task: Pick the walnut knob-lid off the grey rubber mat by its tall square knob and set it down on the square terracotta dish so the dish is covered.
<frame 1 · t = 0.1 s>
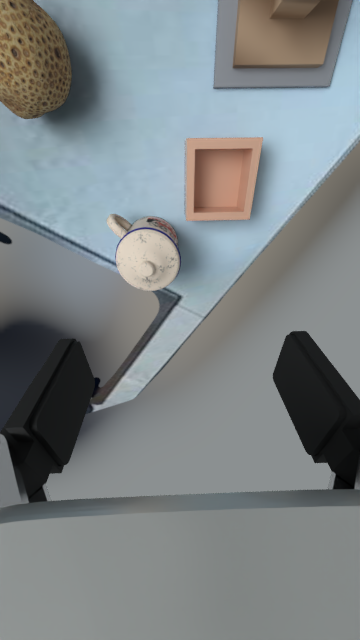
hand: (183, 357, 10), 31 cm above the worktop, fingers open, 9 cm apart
teacup with lid: (146, 236, 37), on the worktop
natural sponge: (44, 72, 26), on the worktop
dish: (215, 179, 33), on the worktop
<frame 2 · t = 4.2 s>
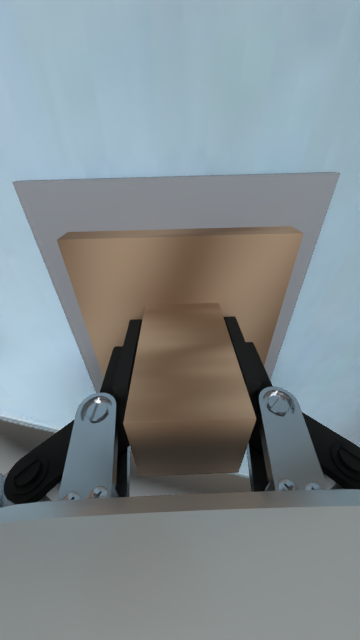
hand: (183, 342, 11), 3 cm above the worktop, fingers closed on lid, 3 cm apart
mat: (180, 314, 13), on the worktop
lid: (181, 319, 13), point 1 cm above the worktop, touching gripper, mat
when the fingers open (8 cm above the worktop, at t = 8.8 s): lid drops 1 cm, resting on dish.
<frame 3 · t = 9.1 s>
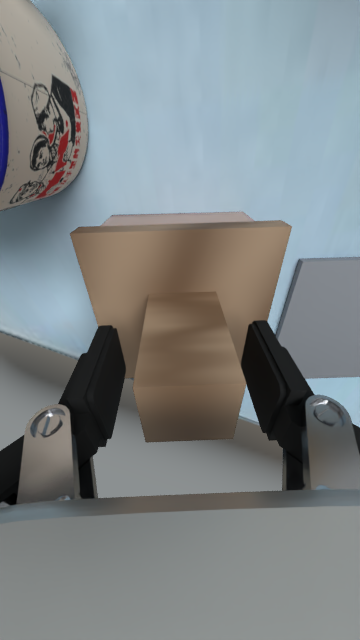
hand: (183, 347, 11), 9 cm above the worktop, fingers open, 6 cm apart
teacup with lid: (20, 80, 11), on the worktop
mat: (344, 326, 22), on the worktop
dish: (179, 274, 18), on the worktop
lid: (182, 308, 14), point 5 cm above the worktop, touching dish
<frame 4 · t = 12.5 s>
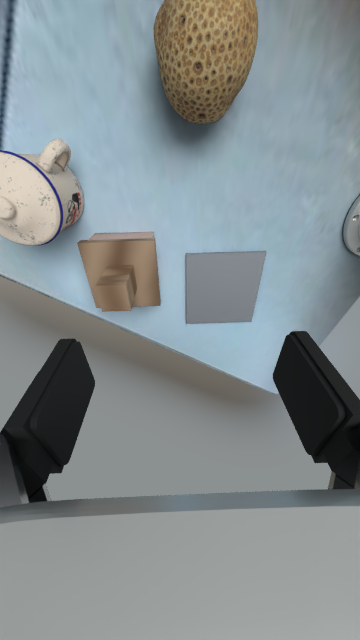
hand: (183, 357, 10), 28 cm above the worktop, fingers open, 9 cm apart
teacup with lid: (58, 184, 30), on the worktop
mat: (221, 290, 40), on the worktop
natural sponge: (198, 75, 25), on the worktop
dish: (128, 260, 37), on the worktop
lid: (124, 273, 33), point 5 cm above the worktop, touching dish
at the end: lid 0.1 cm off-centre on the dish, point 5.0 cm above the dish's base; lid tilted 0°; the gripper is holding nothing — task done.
